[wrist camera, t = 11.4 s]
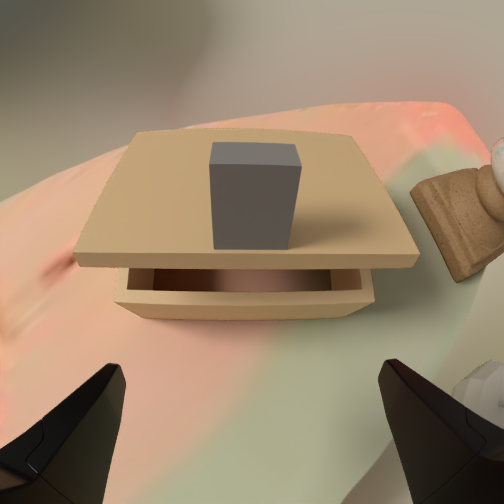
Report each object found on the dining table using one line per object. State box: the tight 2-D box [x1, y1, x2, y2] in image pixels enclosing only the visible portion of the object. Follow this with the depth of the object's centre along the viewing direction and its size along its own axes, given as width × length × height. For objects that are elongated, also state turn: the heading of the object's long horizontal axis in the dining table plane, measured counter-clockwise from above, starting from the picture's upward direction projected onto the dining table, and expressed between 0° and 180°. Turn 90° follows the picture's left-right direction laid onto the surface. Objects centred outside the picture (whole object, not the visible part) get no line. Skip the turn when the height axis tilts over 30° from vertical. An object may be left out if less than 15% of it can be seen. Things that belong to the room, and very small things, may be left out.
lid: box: [72, 128, 420, 269], centre depth 15 cm, size 12×16×5 cm
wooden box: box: [114, 268, 375, 320], centre depth 22 cm, size 12×16×6 cm
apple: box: [451, 360, 504, 429], centre depth 17 cm, size 8×8×7 cm
